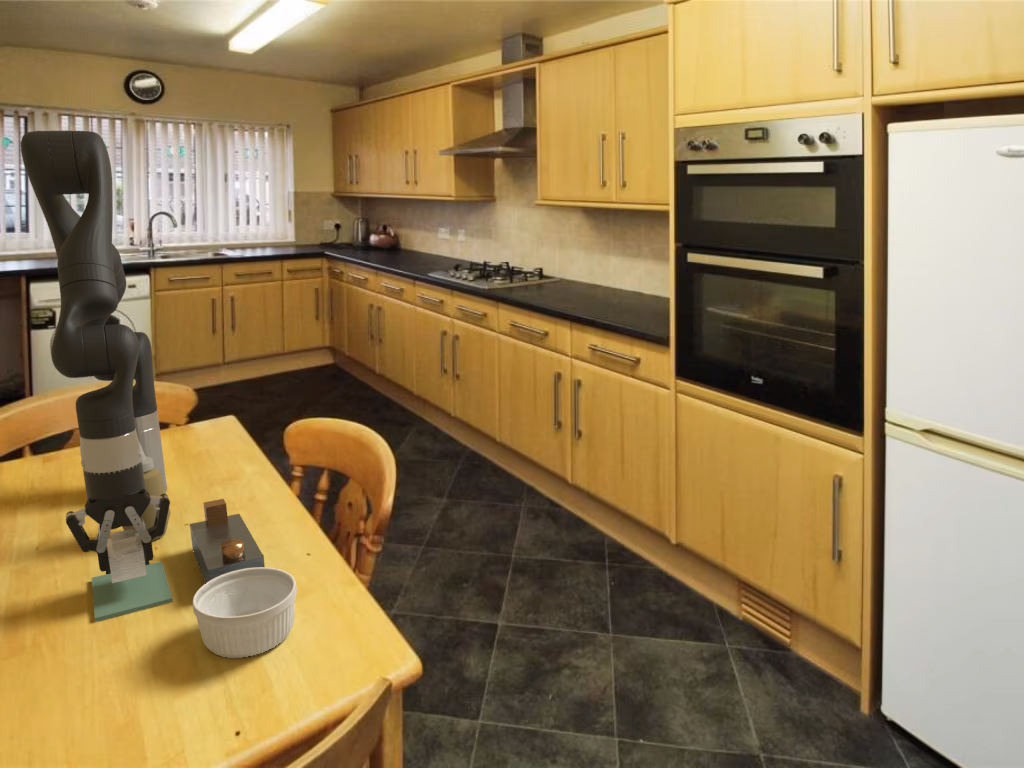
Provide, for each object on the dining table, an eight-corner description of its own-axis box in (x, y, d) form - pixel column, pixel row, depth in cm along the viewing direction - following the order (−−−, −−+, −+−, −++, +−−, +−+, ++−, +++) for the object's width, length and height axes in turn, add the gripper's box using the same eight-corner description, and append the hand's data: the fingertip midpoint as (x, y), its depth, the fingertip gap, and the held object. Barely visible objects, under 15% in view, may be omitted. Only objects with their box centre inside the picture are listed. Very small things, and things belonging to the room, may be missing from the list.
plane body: (192, 550, 119) (187, 504, 117) (241, 539, 123) (237, 494, 121) (211, 600, 104) (205, 547, 102) (266, 585, 109) (261, 535, 106)
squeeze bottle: (159, 522, 130) (148, 430, 125) (181, 534, 125) (169, 439, 120) (114, 537, 124) (99, 441, 119) (134, 551, 119) (120, 452, 114)
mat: (91, 581, 109) (91, 577, 109) (162, 564, 115) (161, 561, 114) (95, 621, 99) (94, 618, 99) (172, 601, 104) (172, 598, 104)
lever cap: (109, 563, 107) (105, 533, 106) (142, 555, 110) (138, 526, 108) (112, 583, 102) (107, 552, 100) (146, 575, 104) (142, 544, 103)
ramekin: (266, 598, 105) (262, 556, 103) (319, 631, 97) (316, 586, 95) (179, 639, 95) (173, 593, 93) (230, 679, 87) (225, 630, 85)
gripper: (163, 445, 108) (175, 546, 112) (54, 462, 101) (71, 569, 105) (169, 460, 102) (182, 565, 106) (53, 479, 95) (72, 591, 99)
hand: (127, 566), depth 106 cm, fingers closed on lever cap, 4 cm apart
